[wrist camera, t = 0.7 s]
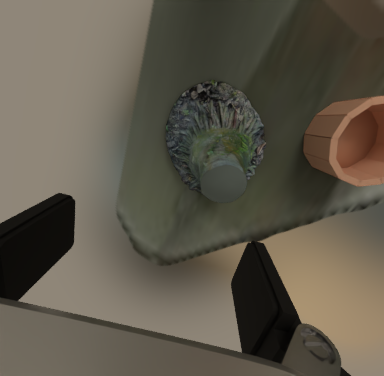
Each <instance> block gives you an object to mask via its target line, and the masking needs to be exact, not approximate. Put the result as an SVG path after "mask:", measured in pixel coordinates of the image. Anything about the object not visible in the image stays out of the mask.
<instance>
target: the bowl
mask: <svg viewBox="0 0 384 376" xmlns="http://www.w3.org/2000/svg"><path fill="white" fill-rule="evenodd" d="M303 152H304V155H305V156H306V158H307V160H308V161H309V163H310V165H311V166H312V167H314V168H316V169H318V170H321V171H323V172H325V173H327V174H330V175H332V176H334V177H336V178H339V179H341V180H343V181H346V182H348V183H350V184H353V185H355V186H358V187H359V186H368V185H377V184H381V183H382V184H383V183H384V95H383V96H375V97H368V98H360V99H352V100H346V101H339V102H334V103H332V104H331V105H329V106H328V107H326V108H325V109H324V110H322V111H321V112H319V113H318V114H316V116H314V118H313V120H312V122H311V123H310V125H309V127H308V128H307V130H306V132H305V133H304V148H303Z"/></svg>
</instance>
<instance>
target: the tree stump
mask: <svg viewBox="0 0 384 376" xmlns="http://www.w3.org/2000/svg"><path fill="white" fill-rule="evenodd" d="M206 100H207V102H205V101H206ZM202 101H204V102H203V103H204V104H203V105H201V104H200V102H202ZM263 128H264V125H262V123H261V119H260V117H259V115H258V113H257V112H256V111H255V109H254V108H253V107H251V104H250V102H249V100H248V98H247V97H246V95H245V94H244V93H242V92H241V91H239V90H237V89H235V88H233V87H232V86H230V85H228V84H226V83H225V82H215V80H210V81H206V82H204V83H200V84H198V85H196V86H194V87H192V88H190V89H189V90H186V91H185V92H184V93H183V94H182V95H181V96H180V97H179V99H178V100H177V101H176V103H175V104H174V106H173V108H172V110H171V113H170V117H169V119H168V122H167V124H166V142H167V148H168V152H169V154H170V156H171V159H172V162H173V164H174V167H175V168H176V170H177V171H178V172H179V175H180V176H181V177H182V181H183V182H184V183H186V184H188V185H189V189H190V190H196V191H198V192H200V193H201V194H203V195H204V196H206V197H207V198H208V199H210V200H212V201H215V202H219V203H229V202H233V201H234V200H236V199H238V198H239V197H240V196H241V195H242V194H243V193H244V191H245V189H246V187H247V180H249V179H250V176H252V175H254V174H255V171H254V169H255V168H256V167H257V166H258V165H259V164H260V162H261V160H262V159H263V149H264V148H265V147H266V142H265V141H264V140H263V136H264V131H263Z"/></svg>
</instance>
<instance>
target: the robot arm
mask: <svg viewBox="0 0 384 376" xmlns="http://www.w3.org/2000/svg"><path fill="white" fill-rule="evenodd" d="M74 225H75V200H74V199H73V198H72V196H70V195H66V194H62V193H58V194H56V195H54V196H52V197H50V198H48V199H46V200H44V201H42V202H41V203H39V204H37V205H35V206H33V207H31V208H29V209H27V210H25V211H23V212H21V213H19V214H17V215H16V216H14V217H12V218H10V219H8V220H6V221H4V222H2V223H1V224H0V376H351V375H350V374H348V373H347V372H346V371H345V370H344V369H343V368H342V367H341V358H340V355H339V353H338V350H337V349H336V348H335V346H334V344H333V343H332V342H331V341H330V339H329V338H328V337H327V336H326V335H325V334H324V333H323V332H321V331H320V330H318V329H317V328H315V327H314V326H311V325H309V324H302V323H301V321H300V319H299V317H298V314H297V311H296V309H295V307H294V305H293V303H292V301H291V299H290V297H289V295H288V293H287V291H286V288H285V287H284V284H283V283H282V280H281V278H280V276H279V274H278V272H277V270H276V268H275V266H274V264H273V261H272V259H271V257H270V255H269V253H268V251H267V249H266V247H265V245H264V244H263V243H260V242H256V241H252V242H251V243H248V244H247V246H246V248H245V250H244V253H243V255H242V257H241V260H240V262H239V264H238V267H237V269H236V272H235V274H234V276H233V279H232V282H231V288H232V294H233V300H234V306H235V312H236V318H237V324H238V330H239V336H240V342H241V348H242V353H241V352H237V351H233V350H229V349H225V348H221V347H217V346H213V345H209V344H204V343H200V342H196V341H192V340H187V339H183V338H179V337H175V336H170V335H166V334H162V333H157V332H153V331H148V330H144V329H140V328H135V327H131V326H127V325H122V324H118V323H113V322H109V321H104V320H100V319H96V318H91V317H87V316H82V315H78V314H73V313H68V312H64V311H60V310H55V309H50V308H46V307H41V306H37V305H33V304H28V303H23V302H19V301H18V300H19V299H20V298H21V297H22V296H23V295H24V294H25V293H26V292H27V291H28V290H29V289H30V288H31V287H32V286H33V285H34V284H35V283H36V282H37V281H38V280H39V279H40V278H41V277H42V276H43V275H44V274H45V273H46V272H47V271H48V270H49V269H50V268H51V267H52V266H53V265H54V264H55V263H56V262H57V261H59V259H61V257H62V256H64V255H65V253H67V252H68V250H70V249H71V247H72V246H73V243H74Z"/></svg>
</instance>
